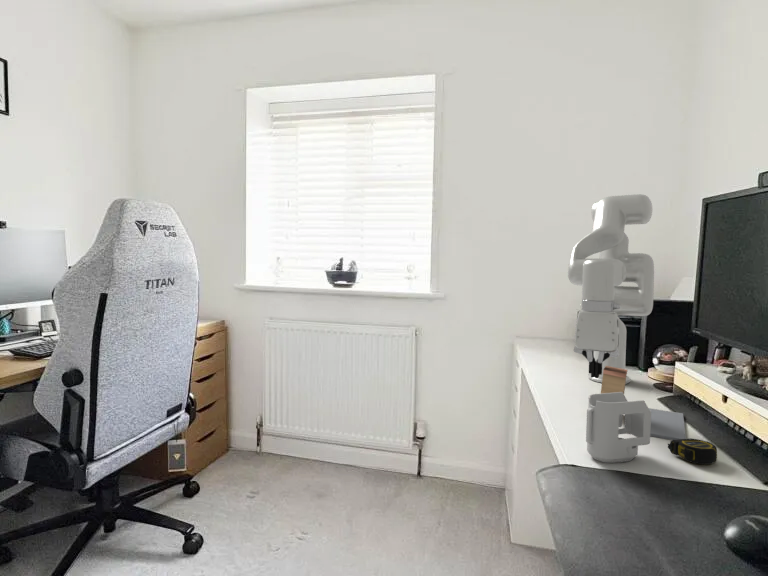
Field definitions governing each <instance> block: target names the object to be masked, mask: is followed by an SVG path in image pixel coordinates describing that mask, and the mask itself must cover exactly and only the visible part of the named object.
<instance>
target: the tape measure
mask: <svg viewBox="0 0 768 576" xmlns="http://www.w3.org/2000/svg"><path fill="white" fill-rule="evenodd" d="M667 448H668V449H669V451H670V453H671V454H672V455H675V456H679V457H680V458H681V459H683V460H684V461H687V462H690V463H694V464H700V465H712V464H714V463H717V460H718V449H717V446H716V445H715V444H713V443H712V442H709V441H706V440H703V439H698V438H697V439H696V438H686V439H679V440H670V441H669V443H667Z"/></svg>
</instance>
